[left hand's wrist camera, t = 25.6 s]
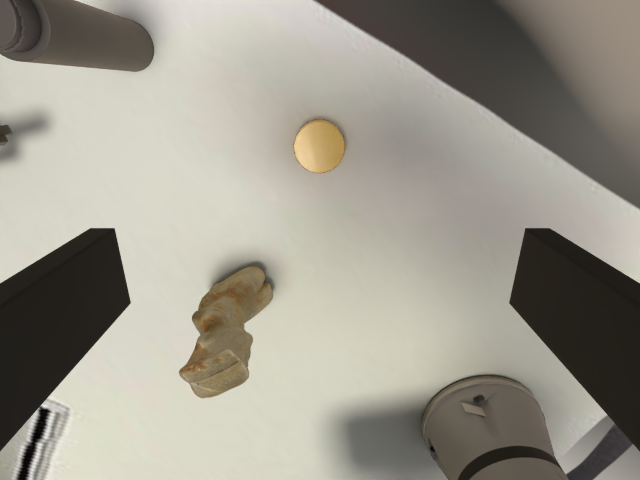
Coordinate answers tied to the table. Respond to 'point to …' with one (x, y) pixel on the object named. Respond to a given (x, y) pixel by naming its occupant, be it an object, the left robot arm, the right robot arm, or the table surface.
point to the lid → (319, 146)
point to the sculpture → (225, 332)
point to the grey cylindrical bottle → (72, 35)
